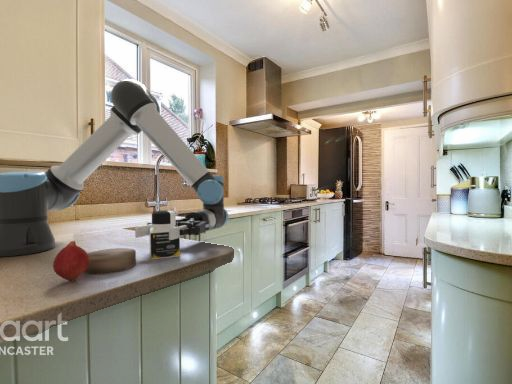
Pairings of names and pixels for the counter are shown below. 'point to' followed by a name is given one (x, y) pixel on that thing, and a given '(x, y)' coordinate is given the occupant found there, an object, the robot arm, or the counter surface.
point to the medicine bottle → (163, 235)
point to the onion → (71, 262)
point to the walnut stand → (111, 260)
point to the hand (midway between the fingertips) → (152, 233)
